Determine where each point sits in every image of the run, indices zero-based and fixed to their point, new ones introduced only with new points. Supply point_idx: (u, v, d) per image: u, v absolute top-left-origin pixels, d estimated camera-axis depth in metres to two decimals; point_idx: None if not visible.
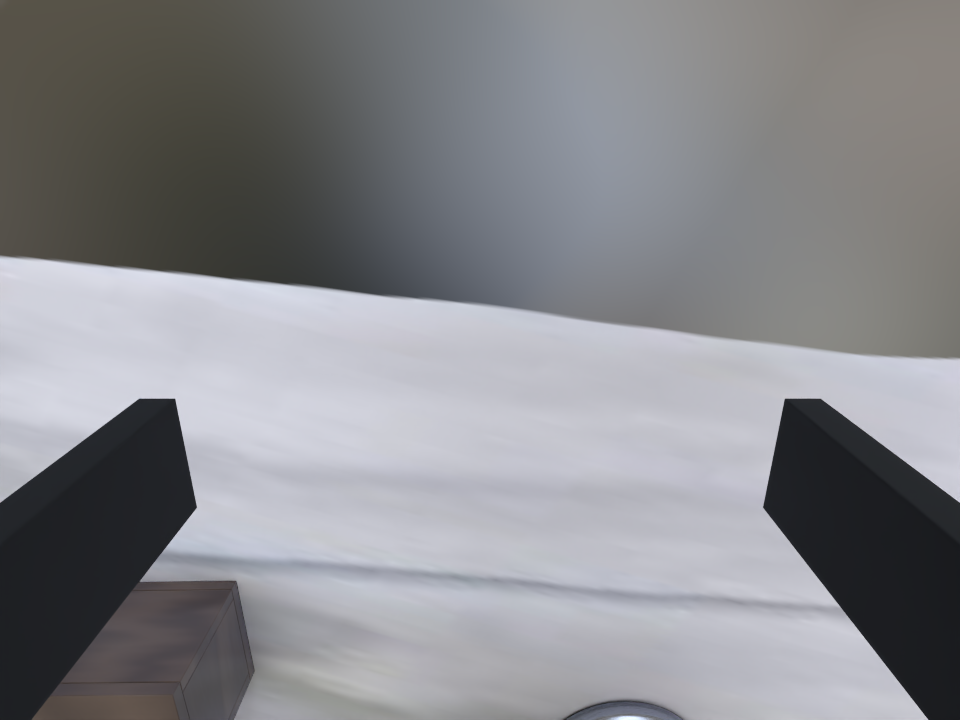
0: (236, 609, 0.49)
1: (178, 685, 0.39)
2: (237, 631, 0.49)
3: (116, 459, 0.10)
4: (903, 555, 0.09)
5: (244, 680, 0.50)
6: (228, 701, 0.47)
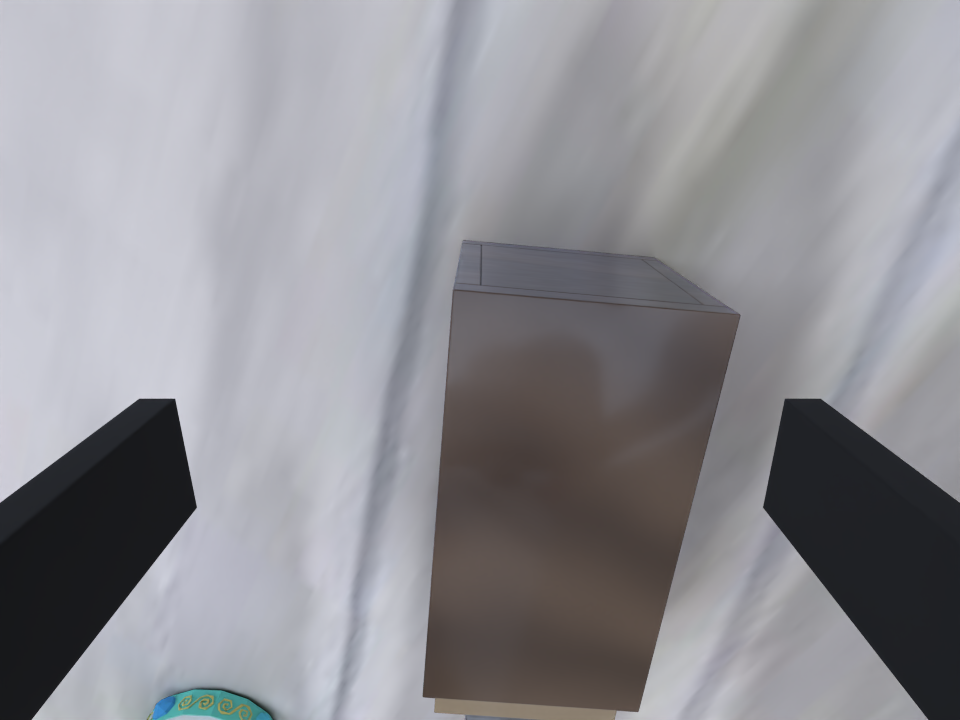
0: (504, 246, 0.29)
1: (456, 284, 0.21)
2: (542, 251, 0.29)
3: (116, 459, 0.10)
4: (903, 555, 0.09)
5: (643, 262, 0.29)
6: (634, 273, 0.26)
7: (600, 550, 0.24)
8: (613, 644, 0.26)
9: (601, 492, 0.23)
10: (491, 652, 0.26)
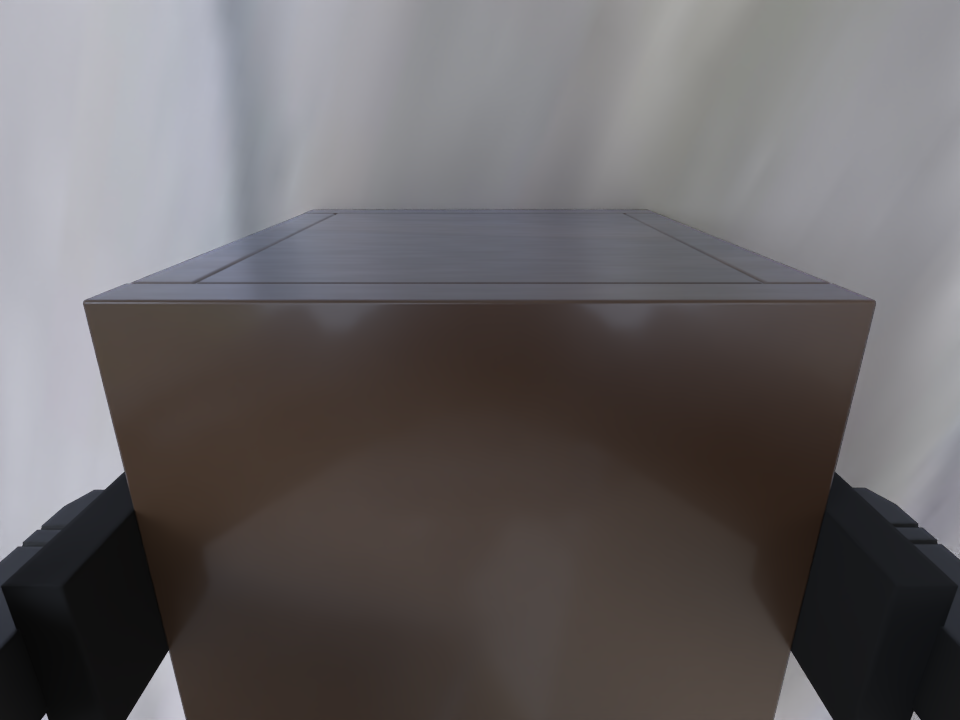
0: (377, 213, 0.17)
1: (123, 287, 0.08)
2: (442, 214, 0.16)
3: None
4: None
5: (626, 217, 0.16)
6: (603, 233, 0.13)
7: None
8: None
9: None
10: None
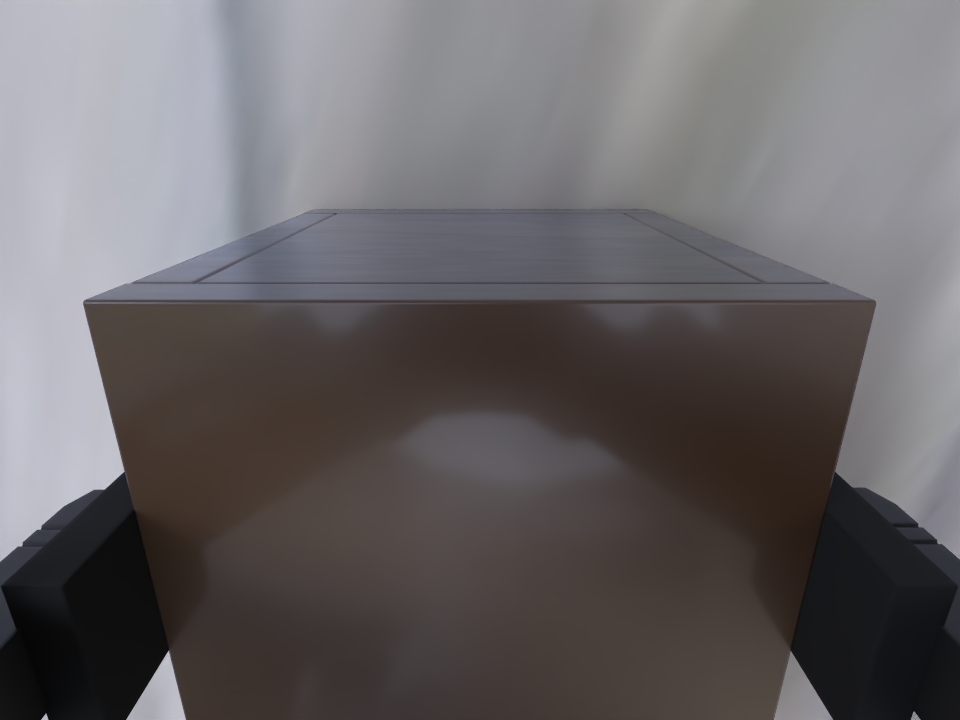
0: (377, 213, 0.17)
1: (123, 286, 0.08)
2: (443, 214, 0.16)
3: None
4: None
5: (626, 217, 0.16)
6: (603, 233, 0.13)
7: None
8: None
9: None
10: None
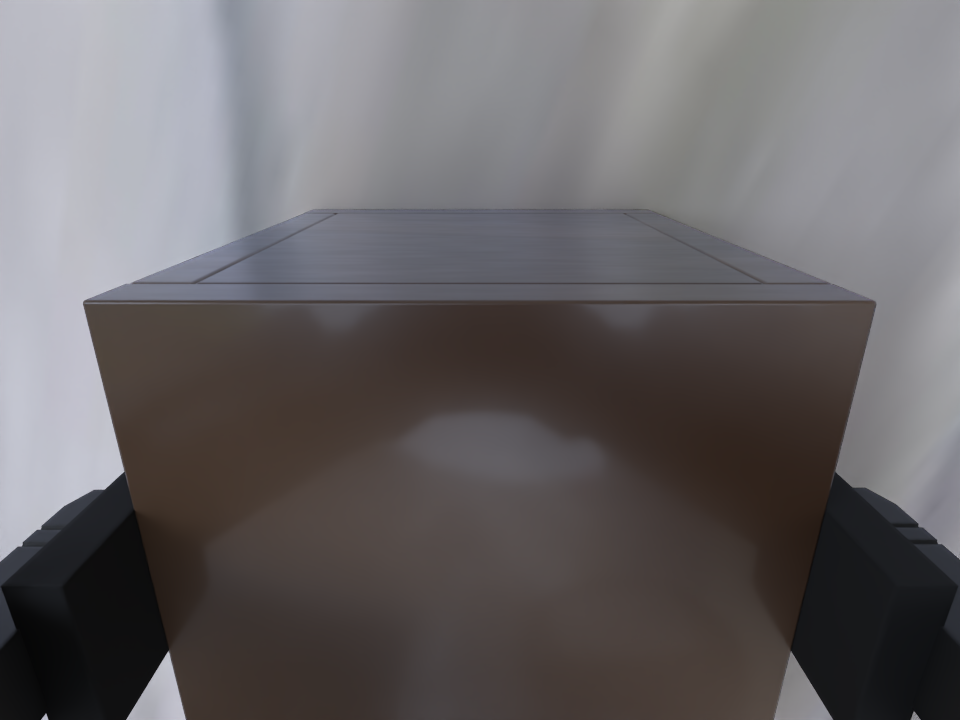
0: (377, 213, 0.17)
1: (123, 287, 0.08)
2: (443, 214, 0.16)
3: None
4: None
5: (626, 217, 0.16)
6: (604, 233, 0.13)
7: None
8: None
9: None
10: None
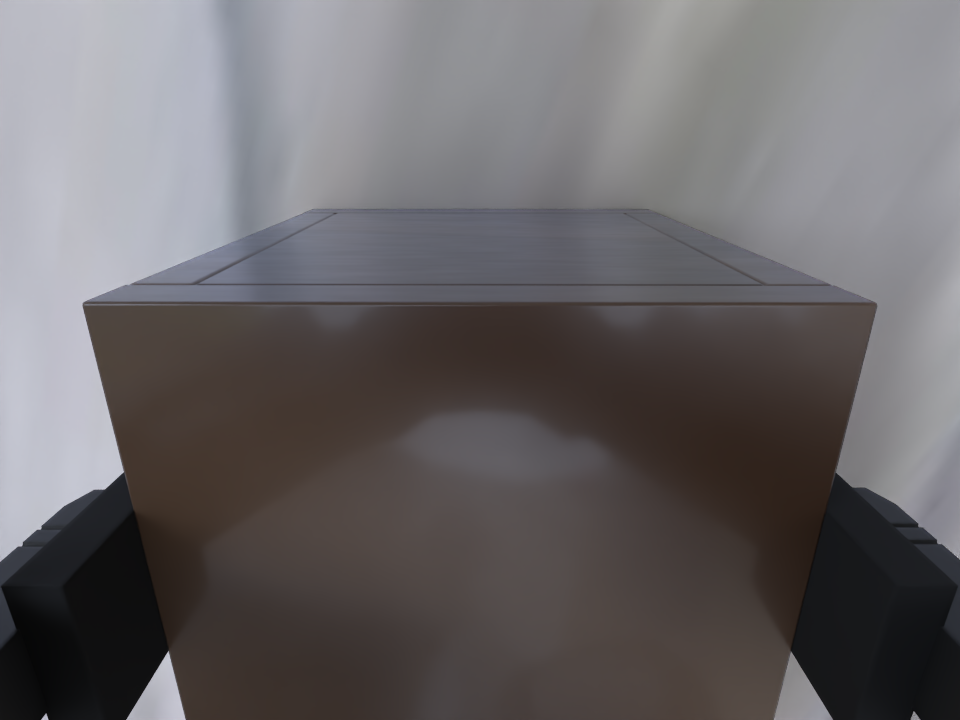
0: (377, 212, 0.17)
1: (122, 288, 0.08)
2: (443, 214, 0.16)
3: None
4: None
5: (626, 217, 0.16)
6: (603, 233, 0.13)
7: None
8: None
9: None
10: None
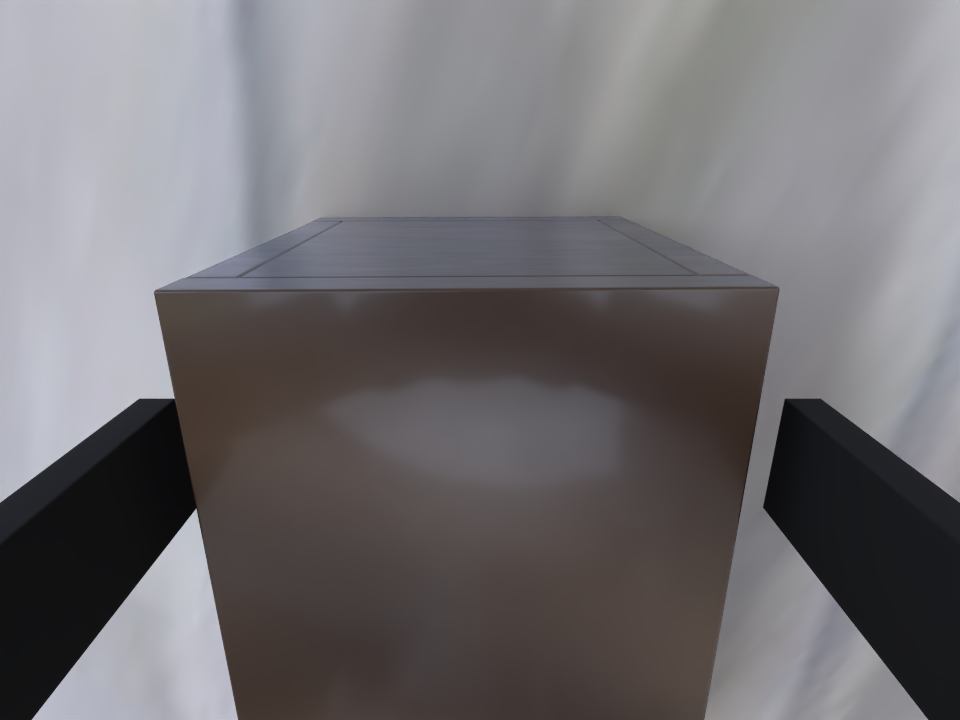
0: (379, 220, 0.19)
1: (181, 281, 0.10)
2: (437, 222, 0.18)
3: (116, 459, 0.10)
4: (903, 555, 0.09)
5: (599, 223, 0.18)
6: (576, 237, 0.15)
7: None
8: None
9: (538, 653, 0.12)
10: None
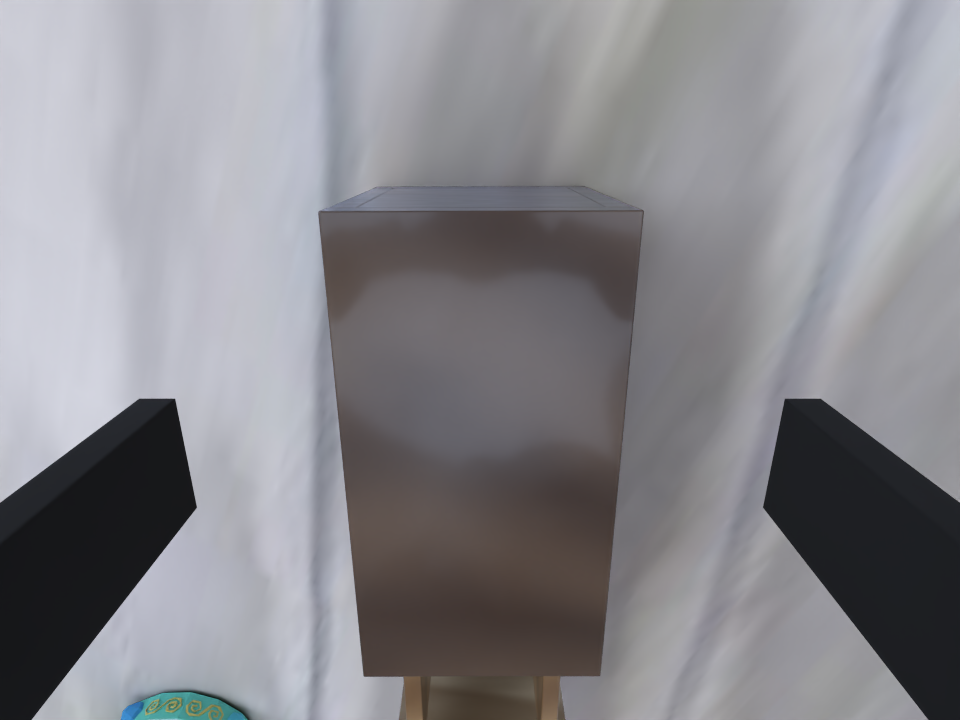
0: (418, 188, 0.27)
1: (327, 209, 0.19)
2: (458, 188, 0.27)
3: (116, 460, 0.10)
4: (903, 555, 0.09)
5: (567, 189, 0.26)
6: (548, 194, 0.24)
7: (529, 497, 0.22)
8: (560, 602, 0.23)
9: (520, 431, 0.21)
10: (429, 621, 0.24)
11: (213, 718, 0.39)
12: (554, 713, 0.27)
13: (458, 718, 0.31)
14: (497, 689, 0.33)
